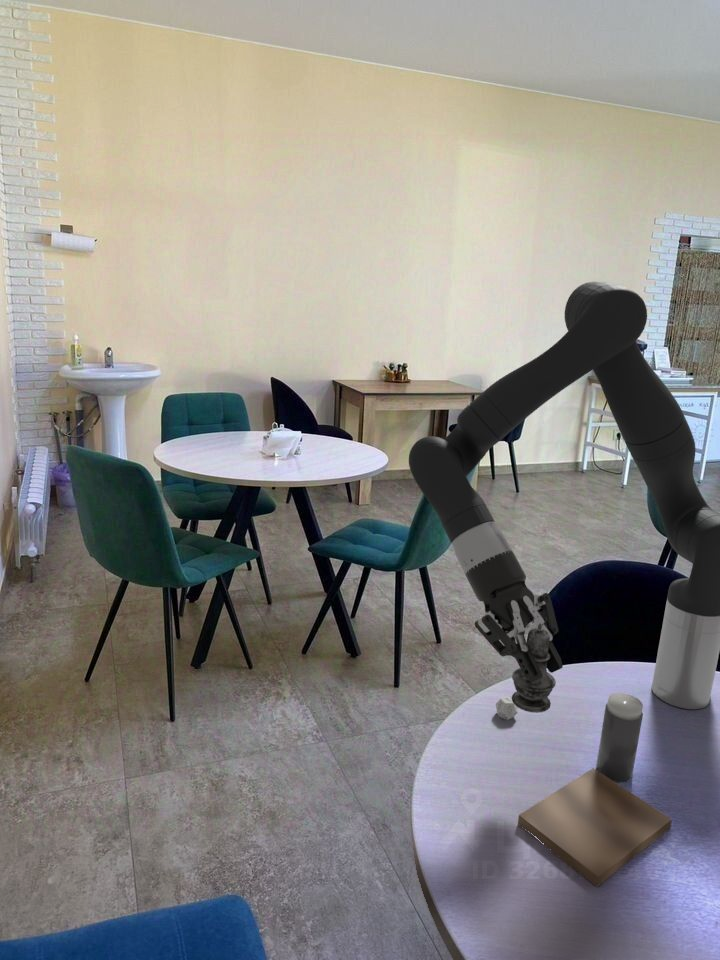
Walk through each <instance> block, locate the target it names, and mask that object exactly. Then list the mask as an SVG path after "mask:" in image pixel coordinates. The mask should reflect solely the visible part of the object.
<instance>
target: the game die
mask: <svg viewBox="0 0 720 960" xmlns="http://www.w3.org/2000/svg"><path fill="white" fill-rule="evenodd" d="M495 707H496V713H497V715H498V716H499V717H500V718H502V719H504V720H506V721H509V720H511V719H513V718H514V717H515V716H516V715H517V714H519V708H518V707H517V706H516V705H515V704H514V703H513V702H512V696H511V697H510V696H508V695H505V696H502V697H501V698H500V699H499V700H498V701H497V702H496V703H495Z"/></svg>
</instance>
